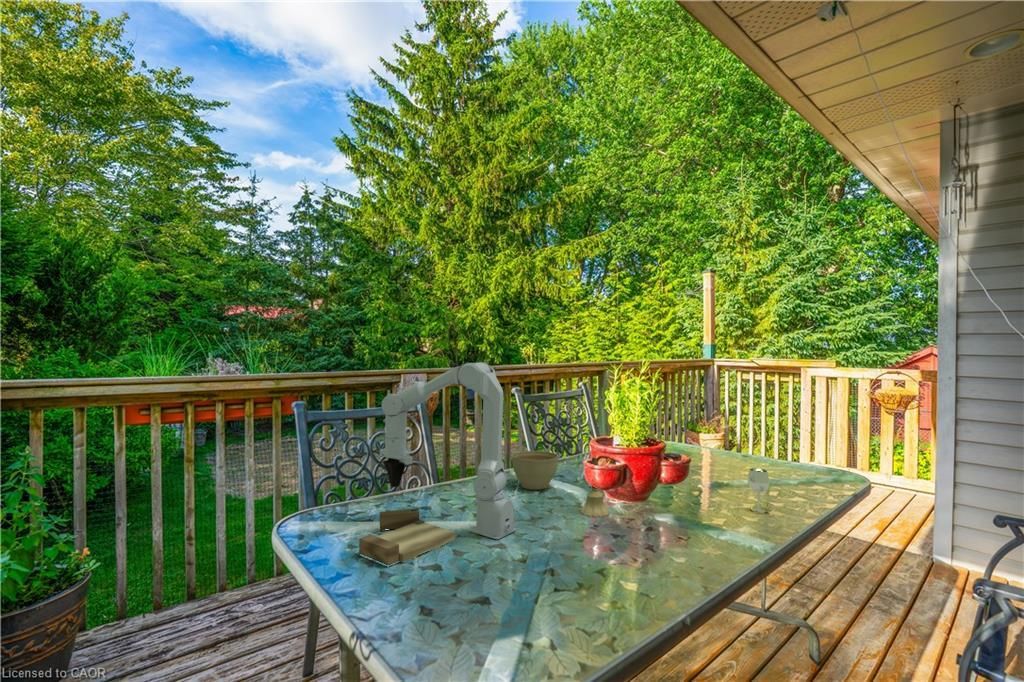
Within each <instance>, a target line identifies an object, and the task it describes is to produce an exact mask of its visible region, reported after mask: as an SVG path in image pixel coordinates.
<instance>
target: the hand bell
mask: <svg viewBox="0 0 1024 682" xmlns="http://www.w3.org/2000/svg"><path fill="white" fill-rule="evenodd" d="M591 464H594V465H599V462H598V459H597V457H592V458H591V462H590V465H591ZM585 501H586V502H585V504H584V505H583V507H582V508H581V509H580V514H581V515H584V516H586V515H587V516H586V517H589V516H593V517H592V518H601V517H600V516H605V515H607V514H609V515H610V511H609V509H608V508H607V507H606V505H605V501H604V496H603V493H602V492H600V491H599V487H598V488H595V487H593V486H592V485H591V491H590V492H588V493H587V495H586V500H585ZM607 516H608V515H607ZM605 517H606V516H605Z"/></svg>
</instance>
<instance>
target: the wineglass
mask: <svg viewBox="0 0 1024 682" xmlns="http://www.w3.org/2000/svg"><path fill="white" fill-rule="evenodd" d="M747 484H748V487H749V488H750V489H751V490H752V491H754V492H756V499H757V506H756V507H752V508H753V510H755V511H759V512H762V511H764V510H765V509H764V508H761V507H760V499H761V493H762V492H766V491H768V489H769V488H770V477H769V472H768V470H767V469H764V468H755V467H752V468H749V470H748V476H747ZM763 509H764V510H763Z"/></svg>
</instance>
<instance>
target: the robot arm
mask: <svg viewBox="0 0 1024 682" xmlns="http://www.w3.org/2000/svg"><path fill="white" fill-rule="evenodd" d="M453 384H455V385H460V384H461V385H462V386H464V387H465V388H467V389H470V390H472V392H473V391H474V392H475V393H476V394H477V395H478V396H479V397H480V398H481V399H482V400H483V402H482V404H483V405H482V406H483V407H482V424H481V425H482V429H481V430H482V433H481V434H482V436H481V451H480V452H481V453H480V455H481V456H480V457H481V458H480V462H479V465H478V467H477V474H476V477H475V480H474V481H473V491H474V493H475V495H476V526H473V527H471V528H470V529H469V532H471V533H473V534H477V535H480V536H483V537H484V536H485V537H487V538H491V539H494V540H500V539H502V538H504V537H505V536H508V535H509V534H512V533H513V532H516V531H517V530H516V528H515V506H514V504H513V502H512V501H511V500H509V499H507V498H506V497H505V492H504V488H505V487H506V485H507V482H508V477H507V476H508V475H507V473H506V470H505V463H504V461H503V459H502V450H503V449H502V448H503V447H502V446H503V445H502V444H503V442H502V441H503V421H504V420H503V417H504V415H503V414H504V390H503V388H502V386H501V384H500V382H499V379H498V378H497V375H496V370H495V369H494V368H493V367H491V366H490V365H489V364H488V363H486V362H483V361H479V362H466V363H464V364H463V365H460V366H459V365H458V366H455V367H453V368H451V369H448V370H447V371H445V372H443V373H442V374H440V375H438V376H436V377H434V378H432V379H431V380H429V381H427V382H424V381H417V380H416V381H415V380H414V381H412V382H410V385H409V386H407V387H404V388H399V389H397V390H396V393H389V394H387V395H386V396H384V398H383V399H382V401H381V409H382V411H383V413H384V414H385V419H384V420H385V423H384V424H385V425H384V426H385V431H384V432H385V435H384V437H385V438H384V448H380V449H379V457H385V458H387V459H386V460H383V461H382V464H383V465H384V467H385V470H386V472H387V473H386V474H387V476H388V481H389V485H390V487H391V488H397V487H400V485H401V481H402V478H403V474H404V472H405V470H406V467H407V466H408V465H413V458H414V457H413V456H411V455H410V451H409V450H407V418H408V411H410V410H411V409H413V408H415V407H417V406H419V405H421V404H423V403H425V402H427V401H429V400H430V398H431V396H432V394H433V393H436V392H438V391H440V390H443V389H444V388H447V387H449V386H451V385H453Z"/></svg>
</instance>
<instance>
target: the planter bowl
mask: <svg viewBox="0 0 1024 682" xmlns="http://www.w3.org/2000/svg"><path fill="white" fill-rule="evenodd" d="M511 460H512V461H511V462H512V468H513V471H514V474H515V476H516V478H517V480H518V481H519V482H520V487H521V488H523V489H525V490H526V489H527V490H545V489H548V488H549V487H550V482H551V481H552V480H553V478H554V477H555V475H556V472H557V468H558V461H559V455H558V454H557V453H555V452H552V451H545V450H544V451H543V450H542V451H541V450H524V451H523V450H522V451H517V452H514V453H513V454H511Z"/></svg>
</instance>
